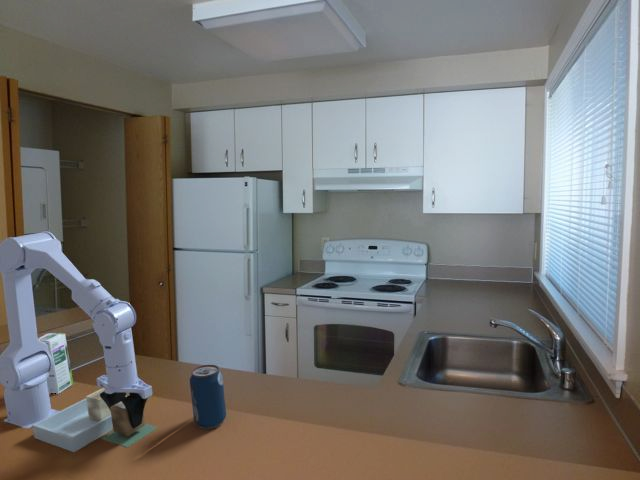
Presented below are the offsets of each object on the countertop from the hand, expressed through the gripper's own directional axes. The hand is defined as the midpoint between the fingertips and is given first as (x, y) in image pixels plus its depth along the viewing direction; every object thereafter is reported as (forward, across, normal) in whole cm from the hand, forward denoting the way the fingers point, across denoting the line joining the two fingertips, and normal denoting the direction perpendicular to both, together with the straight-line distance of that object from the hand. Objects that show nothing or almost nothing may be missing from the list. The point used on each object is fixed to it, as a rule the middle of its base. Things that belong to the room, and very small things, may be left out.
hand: (128, 423), depth 103 cm
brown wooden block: (+1, 0, 0) cm, 1 cm away
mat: (+3, 0, 0) cm, 3 cm away
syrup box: (+3, -38, +8) cm, 38 cm away
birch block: (+2, -12, +2) cm, 12 cm away
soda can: (+3, +12, +11) cm, 17 cm away
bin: (+3, -12, -1) cm, 12 cm away
